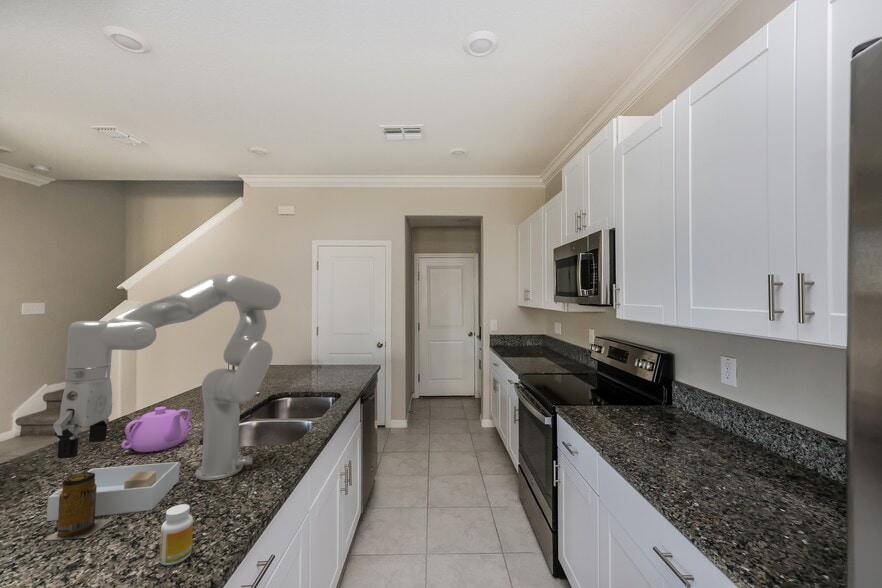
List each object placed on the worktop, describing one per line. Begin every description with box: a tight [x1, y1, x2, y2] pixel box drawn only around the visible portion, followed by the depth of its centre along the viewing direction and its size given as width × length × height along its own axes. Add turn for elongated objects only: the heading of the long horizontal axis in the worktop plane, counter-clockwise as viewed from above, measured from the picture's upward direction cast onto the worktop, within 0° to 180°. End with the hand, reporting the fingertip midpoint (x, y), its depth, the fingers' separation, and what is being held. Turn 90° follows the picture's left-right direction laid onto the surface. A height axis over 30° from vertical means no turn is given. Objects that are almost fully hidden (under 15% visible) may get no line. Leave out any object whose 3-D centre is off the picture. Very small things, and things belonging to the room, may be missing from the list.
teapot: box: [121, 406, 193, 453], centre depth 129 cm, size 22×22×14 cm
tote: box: [46, 461, 181, 522], centre depth 95 cm, size 21×15×6 cm
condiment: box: [43, 471, 113, 541], centre depth 82 cm, size 7×8×12 cm
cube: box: [124, 471, 156, 489], centre depth 96 cm, size 5×5×5 cm
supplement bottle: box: [159, 503, 194, 566], centre depth 74 cm, size 5×5×10 cm
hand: (83, 448), depth 83 cm, fingers open, 9 cm apart
